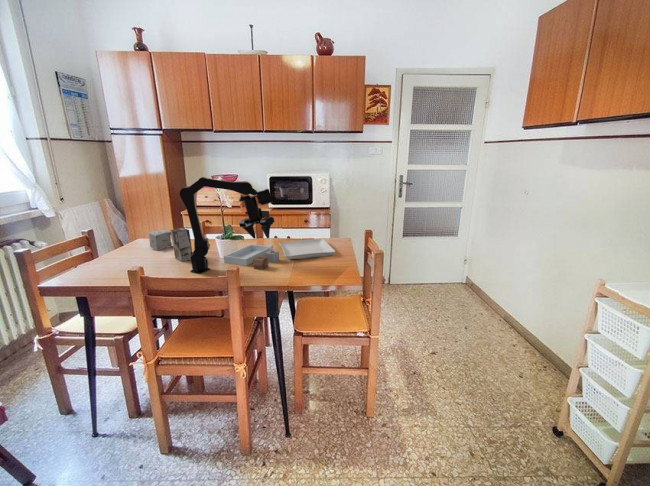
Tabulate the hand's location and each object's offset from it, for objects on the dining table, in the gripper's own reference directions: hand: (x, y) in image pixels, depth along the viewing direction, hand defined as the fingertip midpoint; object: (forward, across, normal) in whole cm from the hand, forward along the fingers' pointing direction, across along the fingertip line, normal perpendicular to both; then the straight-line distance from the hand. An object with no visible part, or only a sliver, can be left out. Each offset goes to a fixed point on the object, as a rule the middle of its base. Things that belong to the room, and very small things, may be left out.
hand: (261, 238), depth 147 cm
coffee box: (+5, +44, +16) cm, 48 cm away
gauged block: (+14, 0, -3) cm, 14 cm away
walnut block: (+13, -1, +7) cm, 15 cm away
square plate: (+18, -6, -23) cm, 30 cm away
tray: (+12, +15, -1) cm, 19 cm away
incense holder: (+2, +75, +10) cm, 76 cm away
